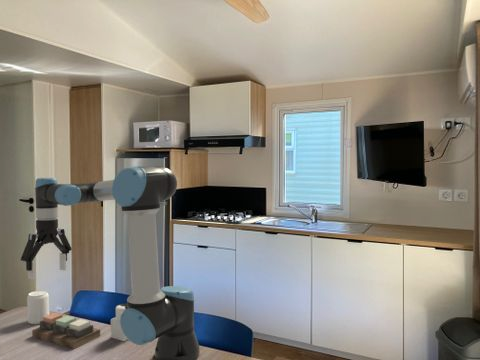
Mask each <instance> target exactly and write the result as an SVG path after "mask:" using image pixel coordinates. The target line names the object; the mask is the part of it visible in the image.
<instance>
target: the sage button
mask: <svg viewBox="0 0 480 360" xmlns="http://www.w3.org/2000/svg"><path fill="white" fill-rule="evenodd" d="M75 321H77V319H76V317H74V316H69V315H65V316H63V317H62V318H60V319H57V320H56V325H57V326H61V327H67V326H69V324H70V323H72V322H75Z"/></svg>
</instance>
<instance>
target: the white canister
mask: <svg viewBox="0 0 480 360" xmlns="http://www.w3.org/2000/svg"><path fill="white" fill-rule="evenodd" d="M27 295H28V296H27V298H26V301H27V302H26V305H27V306H26V309H27V323H28V324H31V325H40V321H42V320H43V317H44V316H46V315H49V314H50V295H49V293H48V291H47V290H35V291H31V292H30V293H28V294H27Z"/></svg>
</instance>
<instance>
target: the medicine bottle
mask: <svg viewBox="0 0 480 360" xmlns="http://www.w3.org/2000/svg"><path fill="white" fill-rule="evenodd" d="M126 309H128V305H127V303H120V304H118V305H116V306H115V317H113V318H111V319H110V337H111V338H112V339H115V340H117V341H121V342H126V341H128V338H127V337H126V336H125V335H124V333H123V331H122V328H121V324H120V317H121V315H122V313H123V312H124V310H126Z"/></svg>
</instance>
